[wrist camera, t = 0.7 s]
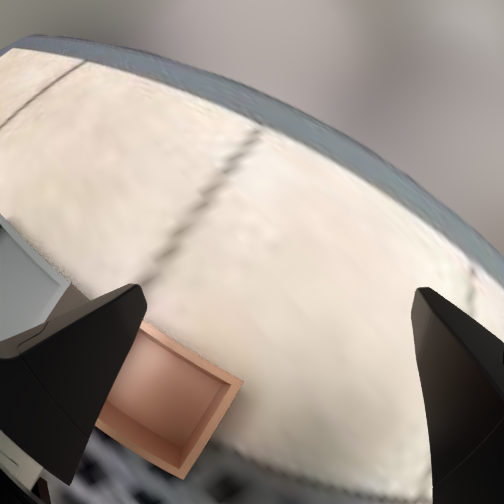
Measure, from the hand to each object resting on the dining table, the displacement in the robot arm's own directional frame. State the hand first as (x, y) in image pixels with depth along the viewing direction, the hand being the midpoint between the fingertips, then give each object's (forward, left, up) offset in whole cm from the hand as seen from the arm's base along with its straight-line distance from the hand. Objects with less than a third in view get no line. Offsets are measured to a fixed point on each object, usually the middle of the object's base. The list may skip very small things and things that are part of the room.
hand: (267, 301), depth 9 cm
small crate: (-5, +3, -14) cm, 15 cm away
